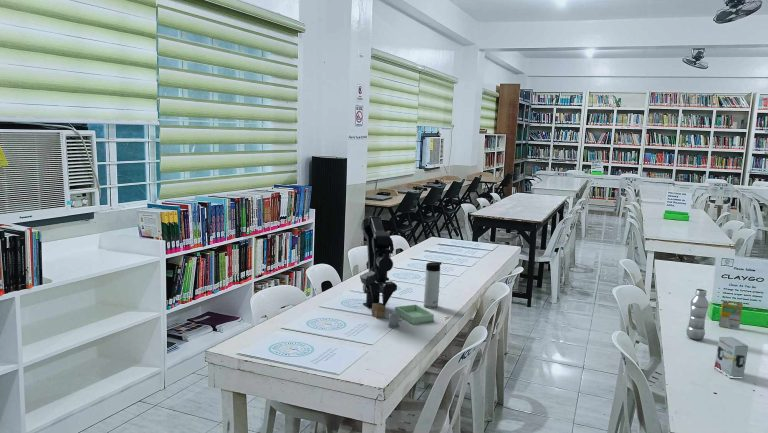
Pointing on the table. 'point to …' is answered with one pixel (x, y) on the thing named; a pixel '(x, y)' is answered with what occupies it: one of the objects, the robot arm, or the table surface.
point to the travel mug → (432, 285)
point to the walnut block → (378, 310)
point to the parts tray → (414, 314)
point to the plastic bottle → (698, 315)
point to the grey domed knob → (393, 320)
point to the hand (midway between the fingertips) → (378, 301)
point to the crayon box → (730, 315)
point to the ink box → (731, 356)
